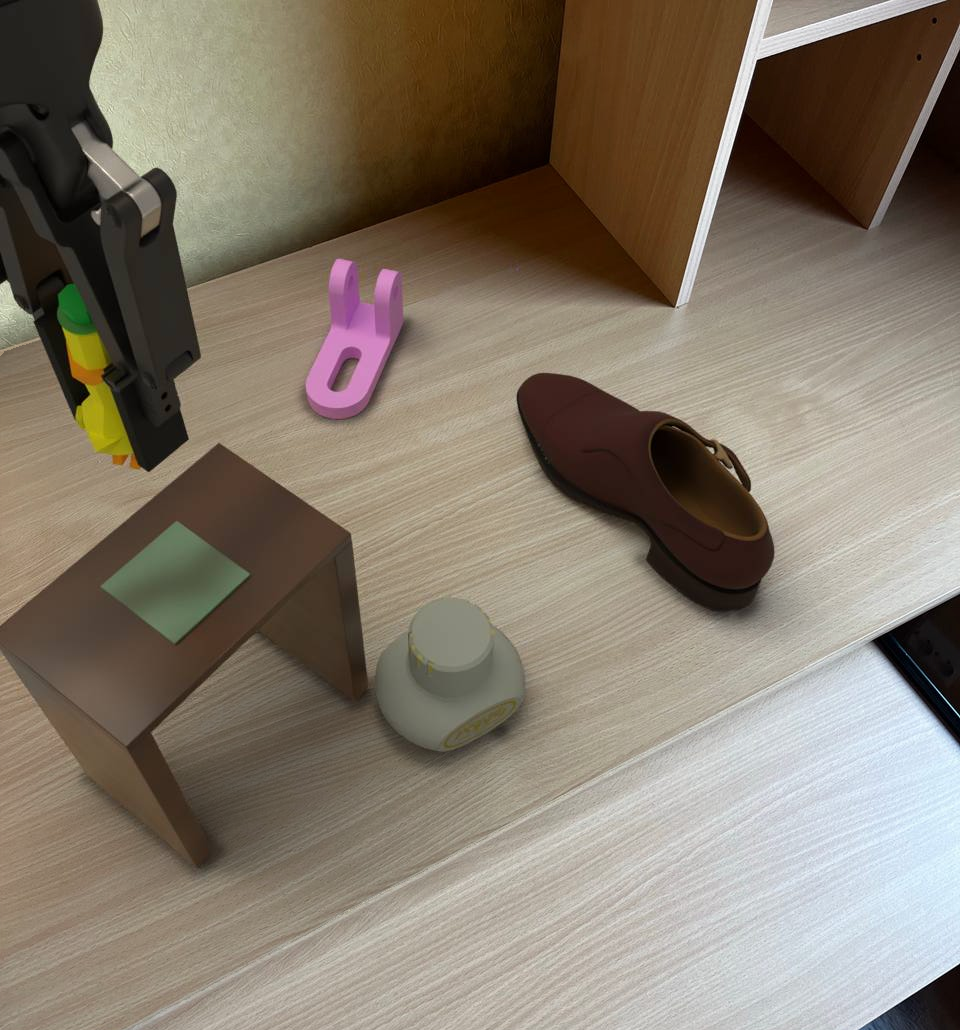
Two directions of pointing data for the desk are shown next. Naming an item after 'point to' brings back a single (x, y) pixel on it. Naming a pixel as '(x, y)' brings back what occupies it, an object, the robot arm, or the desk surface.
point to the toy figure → (92, 379)
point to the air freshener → (449, 676)
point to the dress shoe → (653, 485)
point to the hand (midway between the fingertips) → (131, 428)
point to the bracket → (355, 340)
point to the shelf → (183, 624)
